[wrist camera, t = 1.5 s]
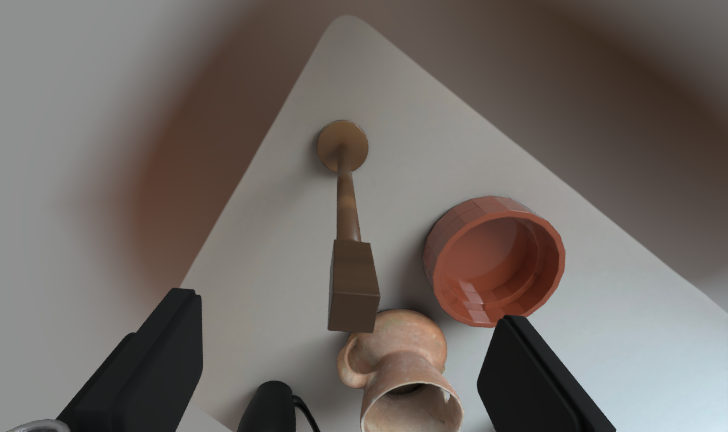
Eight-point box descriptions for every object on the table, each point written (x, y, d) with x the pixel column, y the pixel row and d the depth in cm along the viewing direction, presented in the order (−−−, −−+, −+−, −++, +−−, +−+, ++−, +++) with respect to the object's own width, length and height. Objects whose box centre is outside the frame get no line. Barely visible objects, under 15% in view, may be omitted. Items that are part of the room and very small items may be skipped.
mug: (318, 416, 58) (315, 477, 49) (245, 409, 56) (228, 470, 47) (327, 379, 55) (325, 437, 46) (251, 371, 53) (234, 429, 44)
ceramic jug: (465, 323, 52) (507, 405, 39) (414, 387, 57) (437, 480, 43) (363, 277, 48) (372, 351, 35) (316, 350, 52) (309, 441, 39)
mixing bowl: (437, 187, 44) (451, 203, 38) (555, 202, 46) (585, 219, 40) (411, 295, 50) (420, 322, 44) (517, 304, 52) (539, 331, 46)
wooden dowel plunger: (320, 116, 40) (266, 222, 10) (370, 123, 40) (460, 243, 11) (315, 166, 42) (258, 376, 12) (363, 172, 43) (421, 385, 13)
